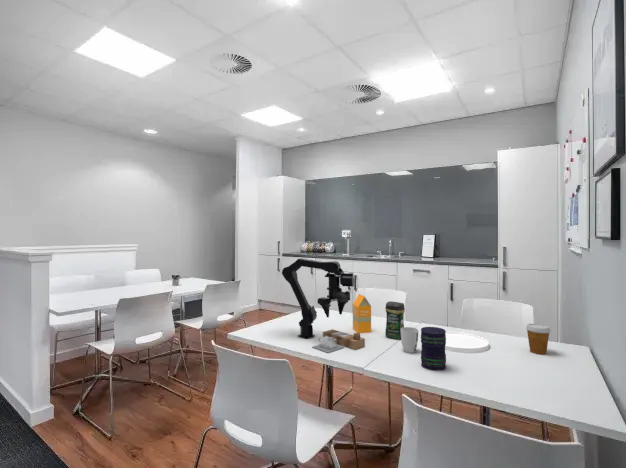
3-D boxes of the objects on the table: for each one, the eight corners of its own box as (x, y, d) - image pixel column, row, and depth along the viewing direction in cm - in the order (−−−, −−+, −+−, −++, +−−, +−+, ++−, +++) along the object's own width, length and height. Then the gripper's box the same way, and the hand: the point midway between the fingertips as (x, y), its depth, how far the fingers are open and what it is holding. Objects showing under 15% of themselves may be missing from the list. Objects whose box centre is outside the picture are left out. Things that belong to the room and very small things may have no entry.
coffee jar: (383, 337, 185) (382, 302, 185) (390, 333, 191) (389, 299, 191) (400, 340, 179) (400, 304, 179) (406, 337, 185) (406, 301, 185)
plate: (425, 334, 191) (424, 330, 191) (480, 337, 185) (480, 332, 185) (431, 351, 163) (431, 346, 163) (496, 355, 158) (496, 350, 158)
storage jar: (415, 364, 147) (415, 328, 147) (432, 360, 152) (432, 325, 152) (434, 372, 138) (434, 334, 138) (451, 367, 143) (451, 331, 143)
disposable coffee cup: (547, 350, 163) (546, 324, 163) (553, 356, 154) (553, 329, 154) (523, 347, 167) (523, 322, 167) (528, 354, 158) (528, 327, 158)
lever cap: (319, 346, 170) (319, 336, 170) (326, 344, 173) (326, 334, 173) (329, 349, 164) (329, 339, 164) (336, 347, 167) (336, 337, 167)
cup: (419, 354, 159) (419, 332, 159) (400, 353, 160) (400, 331, 160) (417, 348, 167) (417, 327, 167) (400, 347, 168) (400, 326, 168)
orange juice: (358, 333, 192) (358, 296, 192) (352, 329, 201) (352, 294, 201) (371, 332, 194) (371, 296, 194) (365, 328, 203) (365, 293, 203)
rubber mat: (311, 347, 169) (311, 346, 169) (328, 342, 176) (328, 341, 176) (328, 353, 161) (328, 352, 161) (344, 347, 168) (344, 347, 168)
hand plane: (322, 339, 181) (322, 327, 181) (332, 336, 186) (332, 324, 186) (355, 350, 165) (355, 336, 165) (364, 346, 170) (364, 333, 170)
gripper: (332, 289, 170) (332, 321, 170) (357, 285, 182) (358, 315, 183) (316, 287, 179) (316, 317, 179) (342, 283, 191) (342, 312, 191)
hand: (334, 315), depth 183 cm, fingers open, 9 cm apart
